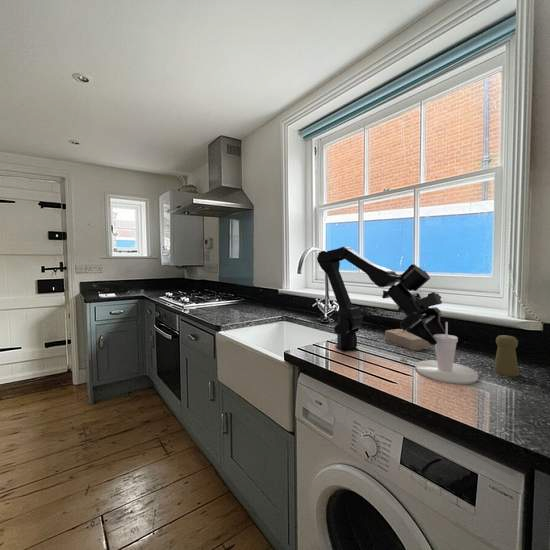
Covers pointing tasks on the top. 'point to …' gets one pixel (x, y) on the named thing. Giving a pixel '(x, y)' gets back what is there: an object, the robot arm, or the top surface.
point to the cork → (506, 356)
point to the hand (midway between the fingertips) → (441, 341)
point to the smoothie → (445, 350)
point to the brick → (406, 339)
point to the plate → (446, 373)
